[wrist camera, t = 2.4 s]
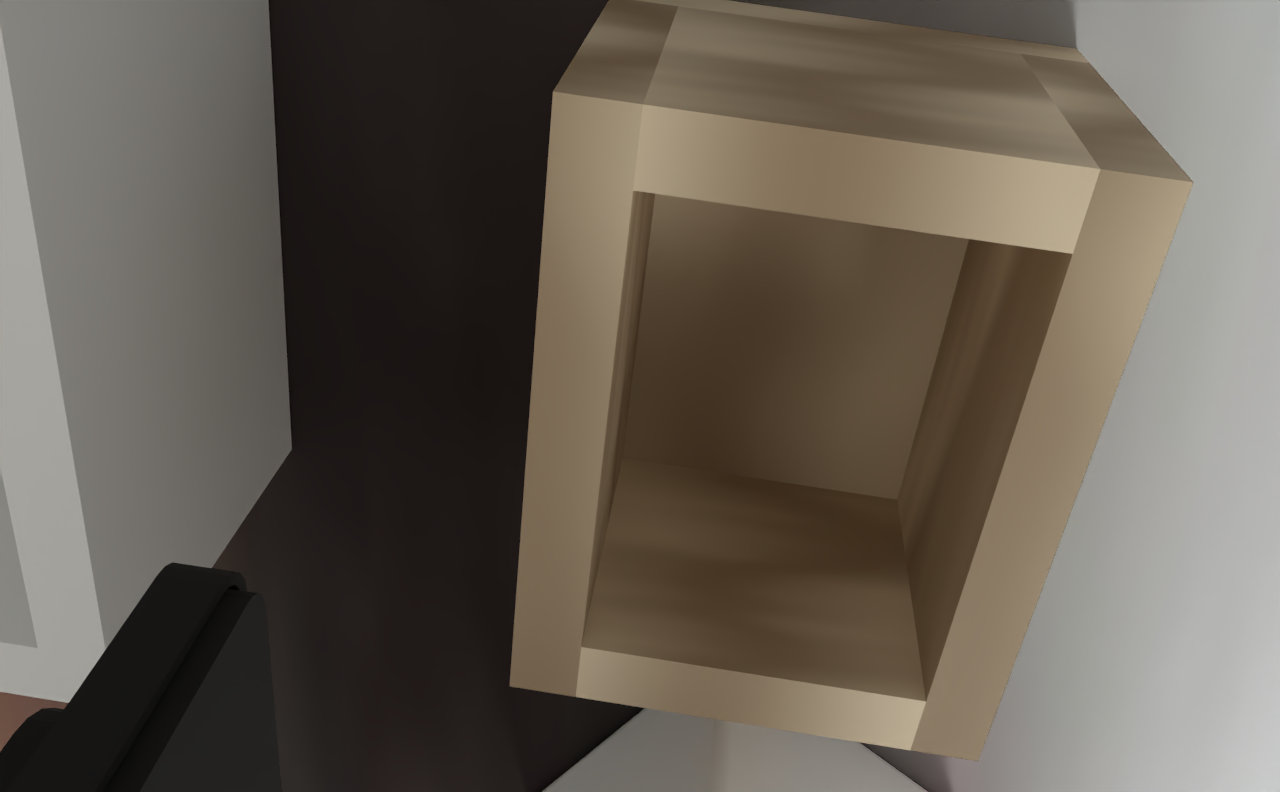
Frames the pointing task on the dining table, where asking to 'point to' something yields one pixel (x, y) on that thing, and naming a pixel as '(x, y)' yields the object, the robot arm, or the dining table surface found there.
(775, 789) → the medicine bottle
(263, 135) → the grey plastic crate
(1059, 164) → the small wooden crate
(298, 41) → the dining table surface
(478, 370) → the dining table surface
